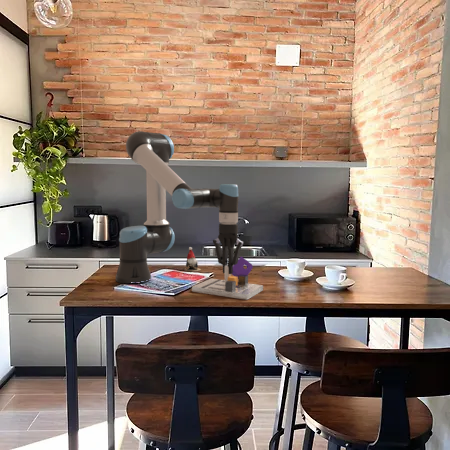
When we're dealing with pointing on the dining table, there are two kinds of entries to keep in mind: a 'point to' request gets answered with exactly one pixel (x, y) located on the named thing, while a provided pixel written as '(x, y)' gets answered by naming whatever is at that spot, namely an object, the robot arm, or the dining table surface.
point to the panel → (228, 294)
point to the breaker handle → (233, 279)
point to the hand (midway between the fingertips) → (227, 281)
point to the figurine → (192, 261)
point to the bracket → (241, 267)
